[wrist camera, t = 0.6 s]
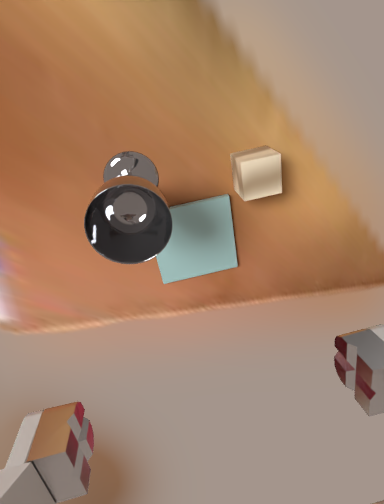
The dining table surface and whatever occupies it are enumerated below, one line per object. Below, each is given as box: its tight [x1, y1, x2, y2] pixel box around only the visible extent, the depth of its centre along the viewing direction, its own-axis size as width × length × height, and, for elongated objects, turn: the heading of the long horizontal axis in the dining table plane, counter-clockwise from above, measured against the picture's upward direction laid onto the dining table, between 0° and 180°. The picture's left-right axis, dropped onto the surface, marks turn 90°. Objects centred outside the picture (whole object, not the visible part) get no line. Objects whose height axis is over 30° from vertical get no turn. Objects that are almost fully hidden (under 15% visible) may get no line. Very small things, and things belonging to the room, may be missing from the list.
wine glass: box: [84, 151, 172, 264], centre depth 35 cm, size 8×8×15 cm
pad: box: [156, 194, 238, 284], centre depth 47 cm, size 12×12×1 cm
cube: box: [230, 146, 282, 201], centre depth 41 cm, size 5×5×5 cm
